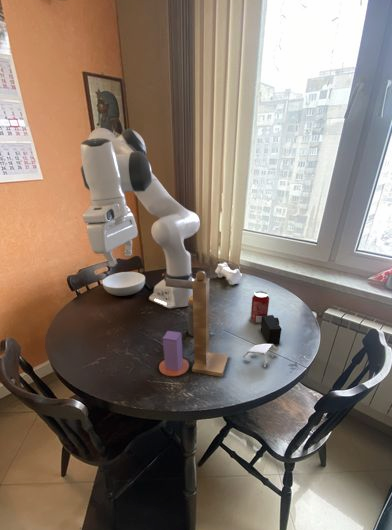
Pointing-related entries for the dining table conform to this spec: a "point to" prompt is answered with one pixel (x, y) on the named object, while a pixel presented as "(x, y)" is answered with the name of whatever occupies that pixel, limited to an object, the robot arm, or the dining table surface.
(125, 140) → the robot arm
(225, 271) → the bone shaped toy
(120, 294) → the serving bowl
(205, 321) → the cup stand
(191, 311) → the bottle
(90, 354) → the dining table surface
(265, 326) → the digital camera
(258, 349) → the white small piece
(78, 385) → the dining table surface
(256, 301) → the soda can
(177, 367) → the purple block
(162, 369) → the coaster
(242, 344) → the dining table surface
